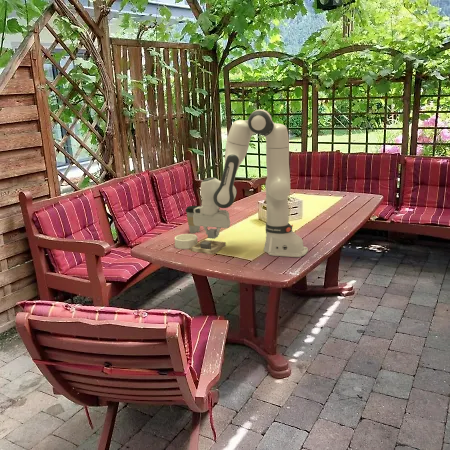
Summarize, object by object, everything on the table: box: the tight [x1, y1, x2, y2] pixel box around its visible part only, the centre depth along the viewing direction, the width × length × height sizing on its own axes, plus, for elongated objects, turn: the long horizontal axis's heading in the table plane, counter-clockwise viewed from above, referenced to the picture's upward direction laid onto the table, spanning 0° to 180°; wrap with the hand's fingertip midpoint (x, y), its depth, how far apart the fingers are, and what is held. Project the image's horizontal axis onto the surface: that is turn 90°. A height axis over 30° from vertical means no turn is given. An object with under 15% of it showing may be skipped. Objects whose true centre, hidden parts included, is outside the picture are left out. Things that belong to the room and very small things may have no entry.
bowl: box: [174, 233, 199, 250], centre depth 252 cm, size 12×12×6 cm
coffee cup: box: [185, 205, 201, 234], centre depth 276 cm, size 9×9×15 cm
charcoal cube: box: [200, 241, 211, 250], centre depth 243 cm, size 4×4×4 cm
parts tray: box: [190, 239, 227, 255], centre depth 246 cm, size 13×14×3 cm
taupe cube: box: [206, 228, 219, 240], centre depth 247 cm, size 4×4×4 cm
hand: (212, 234), depth 247 cm, fingers closed on taupe cube, 4 cm apart
